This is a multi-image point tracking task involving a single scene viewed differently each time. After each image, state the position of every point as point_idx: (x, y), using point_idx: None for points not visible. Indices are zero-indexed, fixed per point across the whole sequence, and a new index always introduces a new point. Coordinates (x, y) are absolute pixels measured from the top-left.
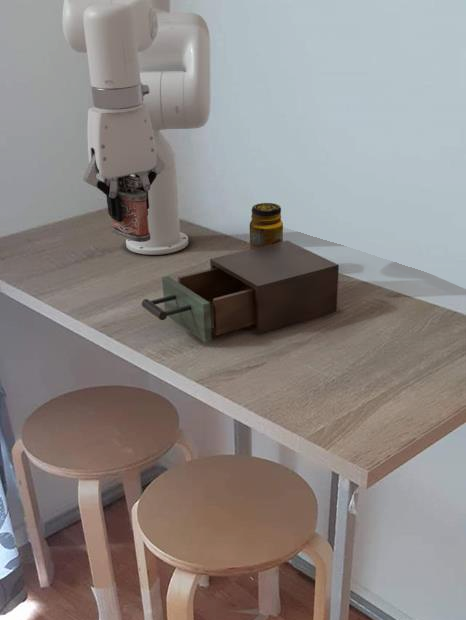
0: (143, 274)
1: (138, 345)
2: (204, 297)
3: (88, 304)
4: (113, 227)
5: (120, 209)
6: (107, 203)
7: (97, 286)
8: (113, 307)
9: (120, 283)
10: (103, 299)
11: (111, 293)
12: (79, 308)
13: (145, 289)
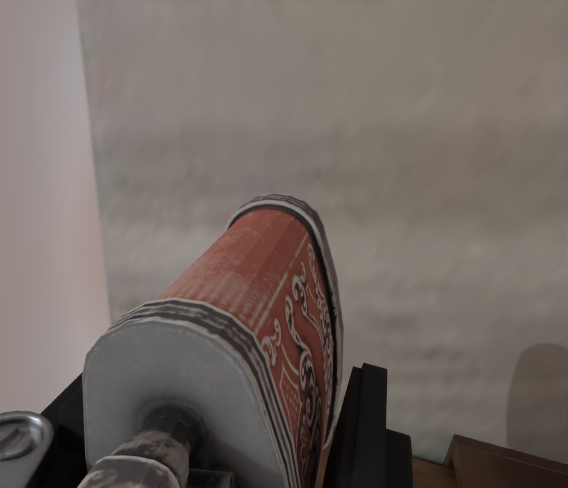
0: (515, 36)
1: None
2: None
3: (177, 136)
4: (234, 222)
5: None
6: (66, 392)
7: (293, 7)
8: (224, 220)
9: (377, 51)
10: (237, 138)
11: (289, 113)
12: (139, 142)
13: (401, 178)
